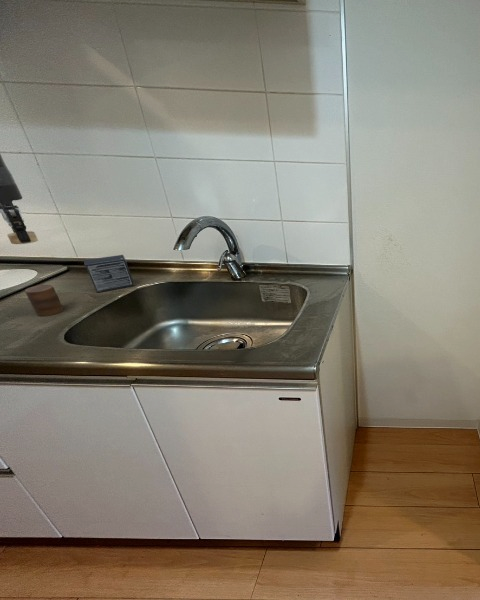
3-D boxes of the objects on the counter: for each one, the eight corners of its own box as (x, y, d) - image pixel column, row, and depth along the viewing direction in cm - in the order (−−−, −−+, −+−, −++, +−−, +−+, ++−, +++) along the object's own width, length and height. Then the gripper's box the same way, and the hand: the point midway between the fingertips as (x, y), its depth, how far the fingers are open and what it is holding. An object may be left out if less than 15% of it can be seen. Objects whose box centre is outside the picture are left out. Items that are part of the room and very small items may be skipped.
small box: (132, 280, 116) (123, 253, 111) (135, 286, 112) (126, 258, 107) (94, 287, 109) (83, 259, 104) (96, 293, 105) (84, 264, 100)
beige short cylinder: (5, 244, 93) (1, 235, 92) (22, 239, 98) (18, 231, 97) (27, 244, 94) (23, 235, 93) (43, 239, 99) (39, 231, 98)
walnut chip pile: (30, 316, 90) (17, 292, 86) (47, 307, 95) (36, 284, 91) (53, 316, 91) (42, 292, 87) (69, 307, 96) (59, 284, 92)
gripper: (-28, 180, 89) (2, 238, 96) (-23, 186, 82) (9, 247, 89) (11, 179, 95) (36, 234, 102) (19, 184, 87) (46, 242, 95)
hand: (24, 240), depth 96 cm, fingers closed on beige short cylinder, 5 cm apart
